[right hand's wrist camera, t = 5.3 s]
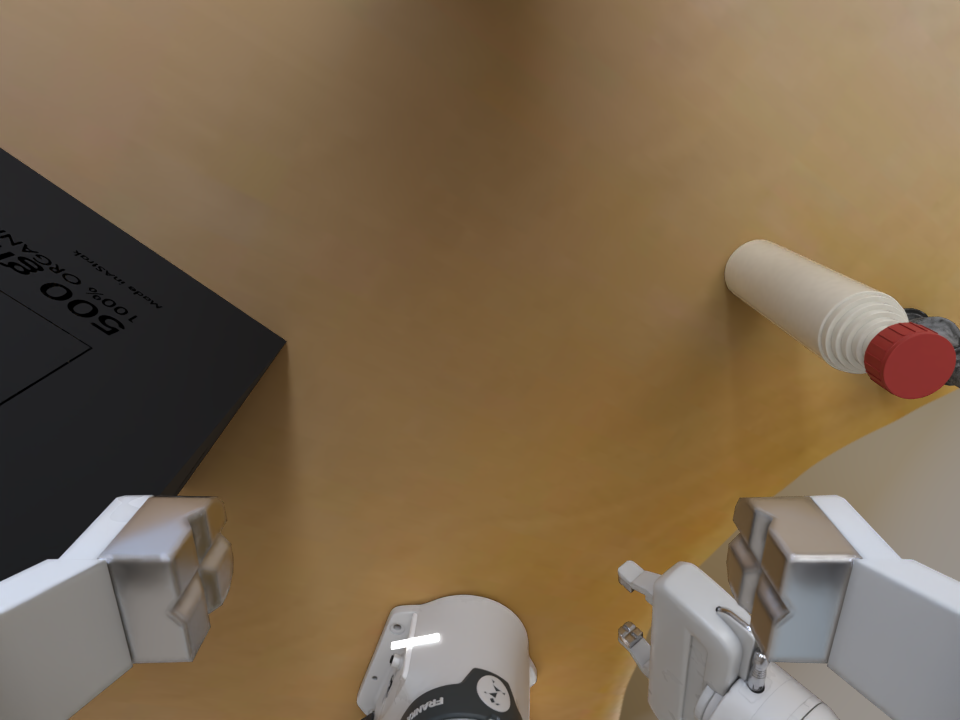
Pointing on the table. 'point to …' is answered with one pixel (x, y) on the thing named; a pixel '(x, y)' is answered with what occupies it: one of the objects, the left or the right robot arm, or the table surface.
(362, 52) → the table surface
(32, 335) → the black tall box
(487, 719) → the left robot arm
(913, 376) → the cap
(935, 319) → the grey stepped cylinder
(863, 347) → the bottle
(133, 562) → the right robot arm
